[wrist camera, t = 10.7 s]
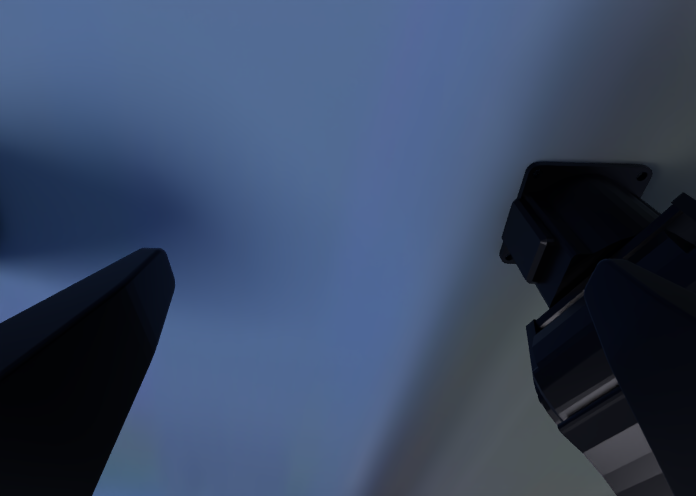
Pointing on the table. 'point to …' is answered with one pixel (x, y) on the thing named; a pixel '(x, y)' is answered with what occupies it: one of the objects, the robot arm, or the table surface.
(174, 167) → the table surface
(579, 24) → the table surface
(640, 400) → the robot arm
